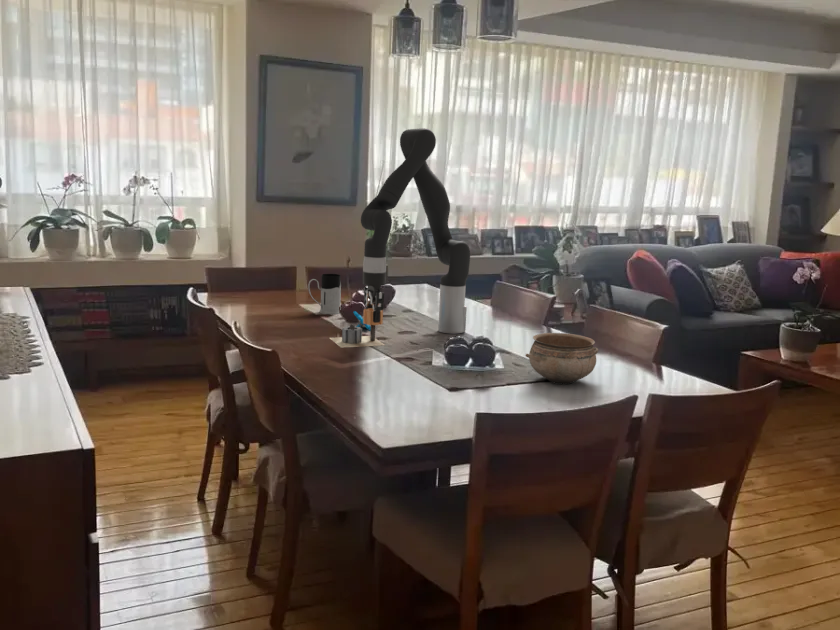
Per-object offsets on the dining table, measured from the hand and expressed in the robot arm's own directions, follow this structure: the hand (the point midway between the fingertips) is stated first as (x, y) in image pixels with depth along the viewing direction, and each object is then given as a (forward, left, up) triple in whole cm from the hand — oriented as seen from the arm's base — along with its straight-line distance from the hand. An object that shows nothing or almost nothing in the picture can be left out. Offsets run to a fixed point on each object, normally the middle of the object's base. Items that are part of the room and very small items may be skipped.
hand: (372, 320), depth 253 cm
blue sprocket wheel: (-3, -19, -8) cm, 21 cm away
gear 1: (+7, 0, -7) cm, 10 cm away
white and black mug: (+1, -56, -8) cm, 57 cm away
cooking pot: (-39, +55, -8) cm, 68 cm away
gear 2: (0, 0, -1) cm, 1 cm away
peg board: (+5, 0, -8) cm, 10 cm away
